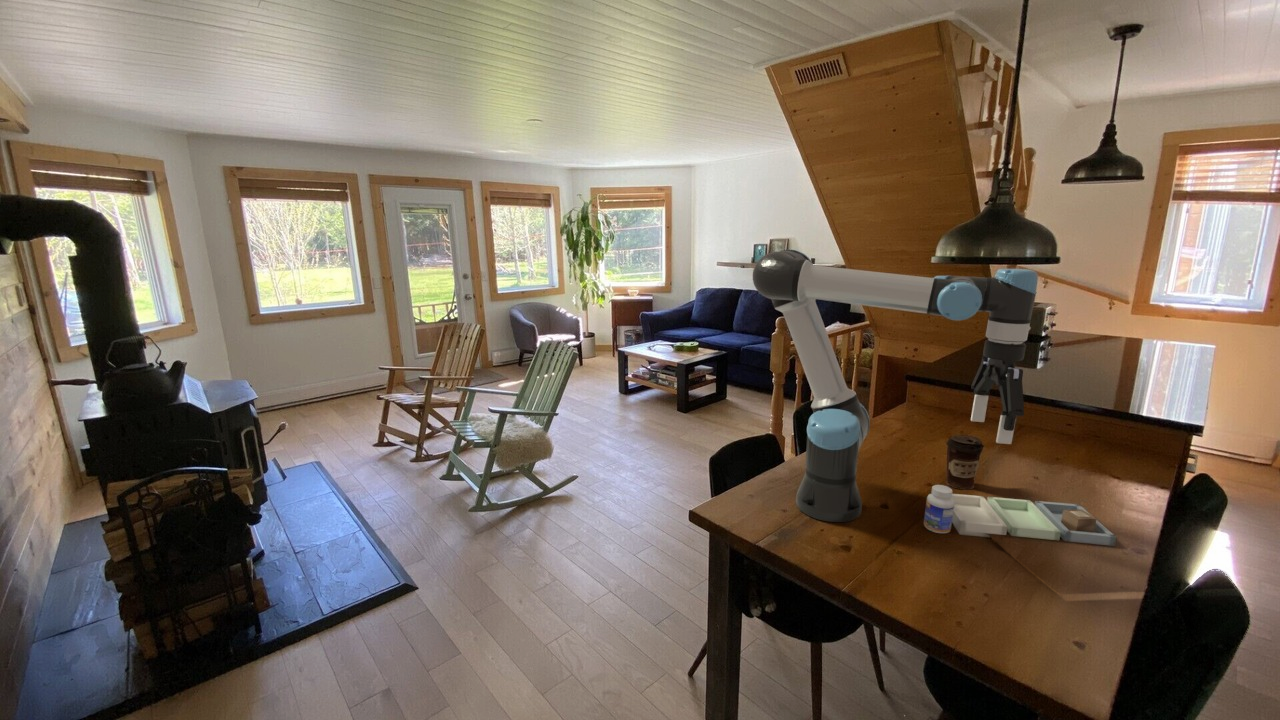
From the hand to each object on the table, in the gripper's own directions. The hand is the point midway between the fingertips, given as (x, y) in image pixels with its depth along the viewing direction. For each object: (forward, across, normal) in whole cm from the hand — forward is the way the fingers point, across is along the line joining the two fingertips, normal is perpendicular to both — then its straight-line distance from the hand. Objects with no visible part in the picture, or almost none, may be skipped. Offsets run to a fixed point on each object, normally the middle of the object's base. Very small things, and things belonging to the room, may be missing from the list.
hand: (989, 431), depth 121 cm
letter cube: (+19, -6, -18) cm, 27 cm away
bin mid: (+20, -4, -8) cm, 22 cm away
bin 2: (+20, -4, -18) cm, 27 cm away
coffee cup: (+21, +15, -2) cm, 26 cm away
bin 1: (+21, -4, +2) cm, 21 cm away
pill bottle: (+21, -8, +11) cm, 25 cm away
